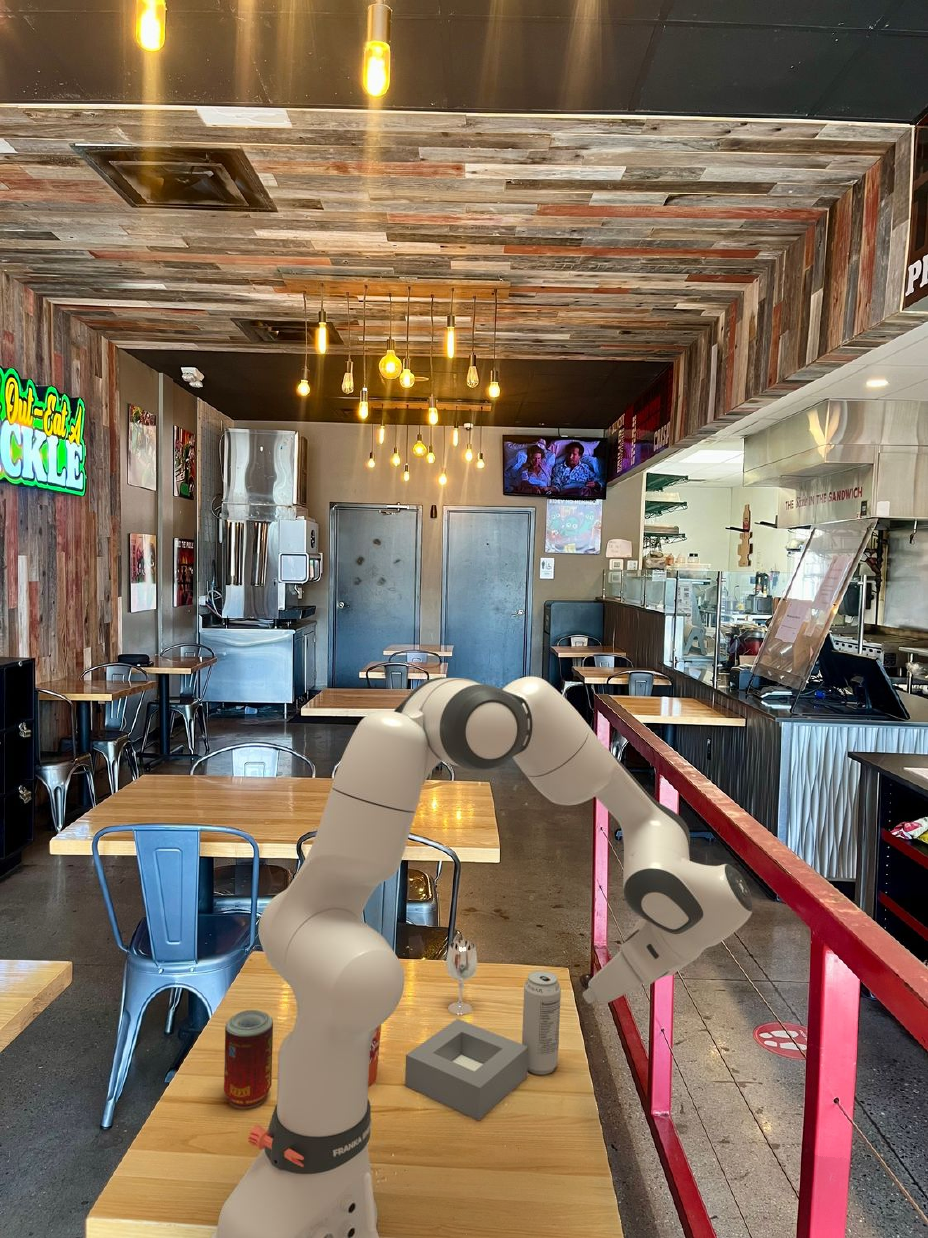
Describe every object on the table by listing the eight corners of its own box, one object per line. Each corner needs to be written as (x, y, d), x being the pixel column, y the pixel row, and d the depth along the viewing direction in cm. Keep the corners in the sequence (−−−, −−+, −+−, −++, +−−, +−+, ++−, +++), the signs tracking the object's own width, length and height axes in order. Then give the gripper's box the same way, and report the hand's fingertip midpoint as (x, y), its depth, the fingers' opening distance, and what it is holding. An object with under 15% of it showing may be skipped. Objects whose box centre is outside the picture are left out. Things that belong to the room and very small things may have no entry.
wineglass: (445, 1000, 160) (447, 938, 159) (475, 1002, 160) (478, 939, 159) (443, 1015, 154) (445, 951, 154) (475, 1017, 154) (477, 953, 153)
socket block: (478, 1121, 124) (479, 1088, 124) (404, 1086, 132) (405, 1055, 132) (527, 1077, 136) (528, 1047, 136) (456, 1047, 144) (457, 1018, 144)
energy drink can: (540, 1052, 143) (544, 965, 143) (565, 1069, 138) (568, 979, 138) (513, 1063, 140) (517, 974, 139) (537, 1081, 135) (541, 989, 134)
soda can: (229, 1082, 131) (231, 1006, 131) (275, 1083, 132) (277, 1007, 131) (218, 1111, 124) (220, 1030, 124) (266, 1112, 125) (268, 1031, 124)
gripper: (674, 903, 136) (616, 946, 142) (621, 945, 119) (557, 992, 125) (700, 938, 134) (639, 980, 140) (649, 986, 117) (583, 1031, 123)
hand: (600, 986), depth 132 cm, fingers open, 8 cm apart
